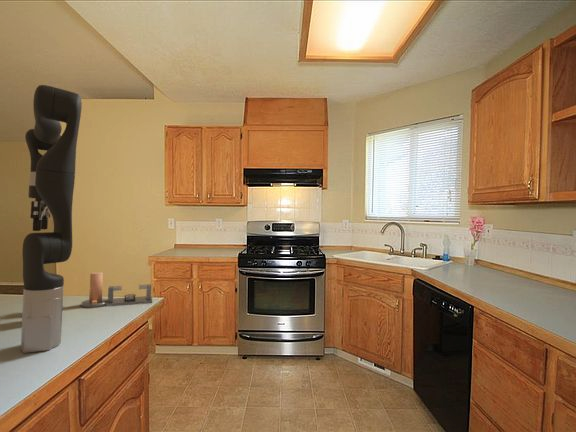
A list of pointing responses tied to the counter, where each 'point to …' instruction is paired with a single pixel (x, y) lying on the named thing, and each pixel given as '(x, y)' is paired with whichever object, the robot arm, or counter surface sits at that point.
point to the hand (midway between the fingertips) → (40, 230)
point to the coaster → (89, 305)
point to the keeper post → (128, 296)
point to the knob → (96, 288)
